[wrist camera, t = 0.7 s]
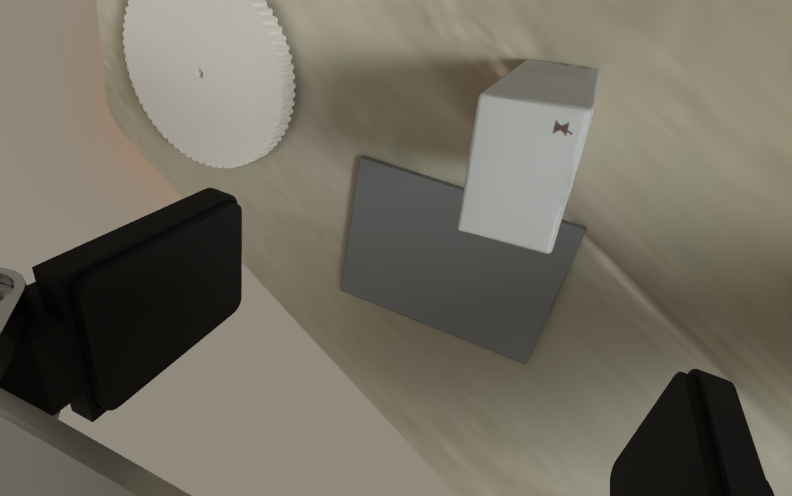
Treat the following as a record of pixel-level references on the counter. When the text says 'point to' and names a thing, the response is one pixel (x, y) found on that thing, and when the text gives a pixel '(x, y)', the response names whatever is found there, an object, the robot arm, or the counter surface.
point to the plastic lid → (211, 76)
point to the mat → (448, 263)
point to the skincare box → (527, 152)
